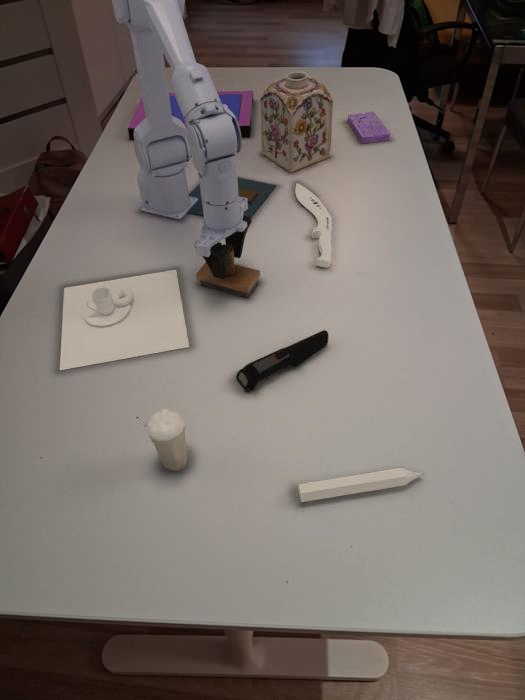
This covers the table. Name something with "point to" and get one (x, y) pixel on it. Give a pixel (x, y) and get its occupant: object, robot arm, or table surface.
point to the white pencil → (356, 484)
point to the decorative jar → (296, 121)
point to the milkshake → (168, 437)
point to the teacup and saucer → (122, 319)
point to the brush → (230, 277)
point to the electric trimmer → (281, 360)
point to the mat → (260, 187)
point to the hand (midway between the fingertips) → (227, 266)
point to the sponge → (368, 127)
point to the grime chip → (248, 194)
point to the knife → (321, 229)
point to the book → (235, 101)
